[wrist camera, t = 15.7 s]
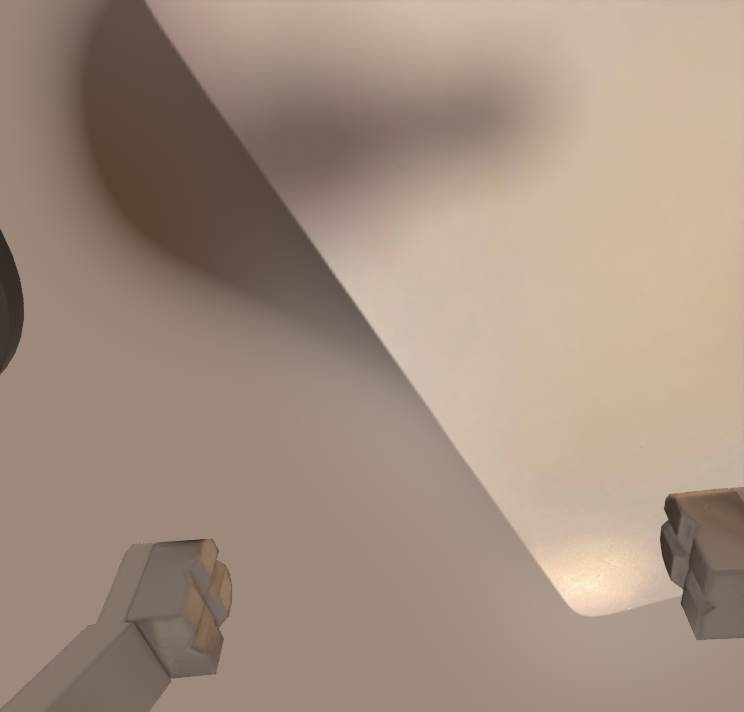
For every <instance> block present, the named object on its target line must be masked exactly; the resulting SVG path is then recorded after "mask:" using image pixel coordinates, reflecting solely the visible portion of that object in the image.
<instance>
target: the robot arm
mask: <svg viewBox="0 0 744 712" xmlns="http://www.w3.org/2000/svg"><path fill="white" fill-rule="evenodd" d="M664 510H665V512H666V514H667V517H668V519H669V520H668V521H667V522H666V523H664V524H663V525H662V526H661V536H660V542H661V550H662V556H663V560H664V563H665V567H666V569H667V572H668V574H669V576H670V579H671V581H673V582H674V583H675V584H677V585H678V586H679V587H681V588H682V589H683V595H682V601H681V605H682V607H683V609H684V612H685V614H686V616H687V619H688V621H689V623H690V626H691V628H692V630H693V632H694V635H695V637H696V639H697V640H706V639H728V638H744V487H738V488H730V489H728V488H722V489H713V490H704V491H694V492H685V493H676V494H669V495H668V497H667V498H666V500H665V506H664ZM218 551H219V550H218V548H217V546H216V544H215V542H214V540H213V539H200V540H185V541H170V542H157V543H147V544H133V545H132V546H131V547H130V548H129V549H128V550H127V551H126V552H125V555H124V557H123V560H122V562H121V564H120V567H119V569H118V572H117V575H116V577H115V579H114V582H113V584H112V587H111V589H110V592H109V594H108V596H107V599H106V601H105V604H104V606H103V609H102V611H101V614H100V616H99V619H98V621H97V624H96V625H88V626H87V627H86V628H85V629H84V630H83V631H82V632H81V633H80V634H79V635H78V636H77V637H76V638H75V639H74V640H73V641H71V642H70V644H68V645H67V646H66V647H65V648H64V649H63V650H62V651H61V652H60V653H59V654H58V655H57V656H56V657H55V658H54V659H53V660H52V661H51V662H50V663H49V664H47V665H46V666H45V667H44V668H43V669H42V670H41V671H40V672H39V673H38V674H37V675H36V676H35V677H34V678H33V679H32V680H31V681H30V682H28V683H27V684H26V685H25V686H24V687H23V688H22V689H21V690H20V691H19V692H18V693H17V694H16V695H15V696H14V697H13V698H12V699H11V700H10V701H9V702H7V703H6V704H5V705H4V706H3V707H2V708H1V709H0V712H149V711H150V709H151V708H152V707H153V705H154V704H155V703H156V701H157V700H158V699H159V697H160V696H161V695H162V693H163V692H164V691H165V689H166V688H167V687H168V685H169V684H170V683H171V678H181V677H190V676H200V675H211V674H216V671H217V667H218V663H219V658H220V654H221V649H222V645H223V640H224V638H223V636H222V634H221V632H220V631H219V627H220V626H221V624H222V623H223V622H224V621H225V620H226V618H228V617H229V613H230V608H231V603H232V583H231V578H230V573H229V571H228V569H227V567H226V565H225V564H223V563H221V562H219V561H218V560H217V555H218Z"/></svg>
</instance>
